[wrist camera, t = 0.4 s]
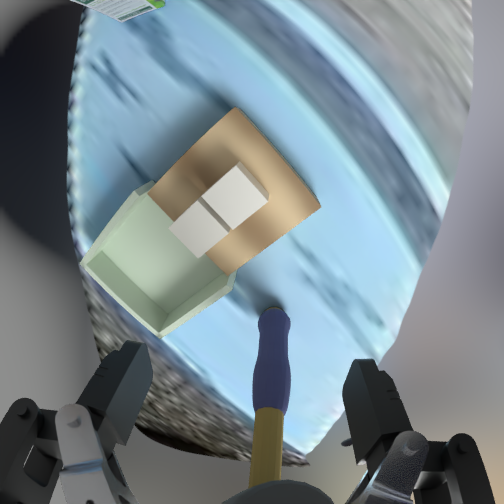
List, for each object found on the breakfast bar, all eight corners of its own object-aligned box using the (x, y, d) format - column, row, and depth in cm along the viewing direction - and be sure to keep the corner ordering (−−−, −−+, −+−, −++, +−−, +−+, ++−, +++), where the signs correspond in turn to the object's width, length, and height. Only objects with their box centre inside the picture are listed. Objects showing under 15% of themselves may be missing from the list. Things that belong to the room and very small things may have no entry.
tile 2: (204, 192, 25) (197, 200, 23) (232, 223, 27) (228, 233, 24) (176, 218, 27) (168, 228, 25) (204, 246, 28) (198, 258, 26)
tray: (152, 179, 28) (134, 190, 24) (237, 268, 32) (232, 289, 28) (97, 247, 33) (79, 263, 29) (170, 317, 37) (160, 339, 33)
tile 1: (239, 161, 24) (235, 165, 22) (269, 193, 25) (268, 201, 23) (208, 189, 25) (201, 196, 23) (236, 220, 26) (232, 230, 24)
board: (239, 108, 24) (235, 106, 22) (317, 198, 28) (321, 206, 25) (158, 186, 28) (146, 193, 26) (231, 262, 32) (227, 276, 29)
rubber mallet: (257, 267, 32) (211, 574, 5) (318, 282, 32) (351, 568, 6) (236, 340, 38) (196, 557, 11) (287, 351, 38) (280, 563, 11)
